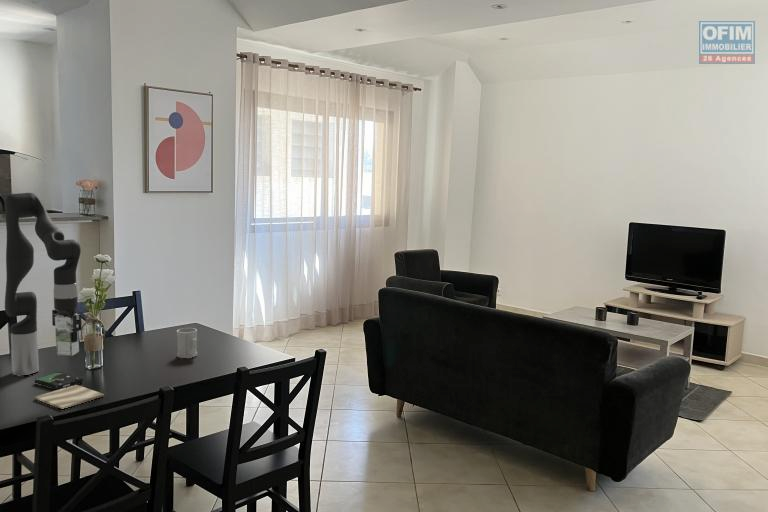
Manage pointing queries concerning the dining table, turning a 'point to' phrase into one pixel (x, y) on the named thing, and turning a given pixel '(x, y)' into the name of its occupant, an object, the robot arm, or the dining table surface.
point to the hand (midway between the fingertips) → (67, 340)
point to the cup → (187, 342)
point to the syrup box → (64, 337)
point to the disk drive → (59, 380)
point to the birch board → (69, 396)
